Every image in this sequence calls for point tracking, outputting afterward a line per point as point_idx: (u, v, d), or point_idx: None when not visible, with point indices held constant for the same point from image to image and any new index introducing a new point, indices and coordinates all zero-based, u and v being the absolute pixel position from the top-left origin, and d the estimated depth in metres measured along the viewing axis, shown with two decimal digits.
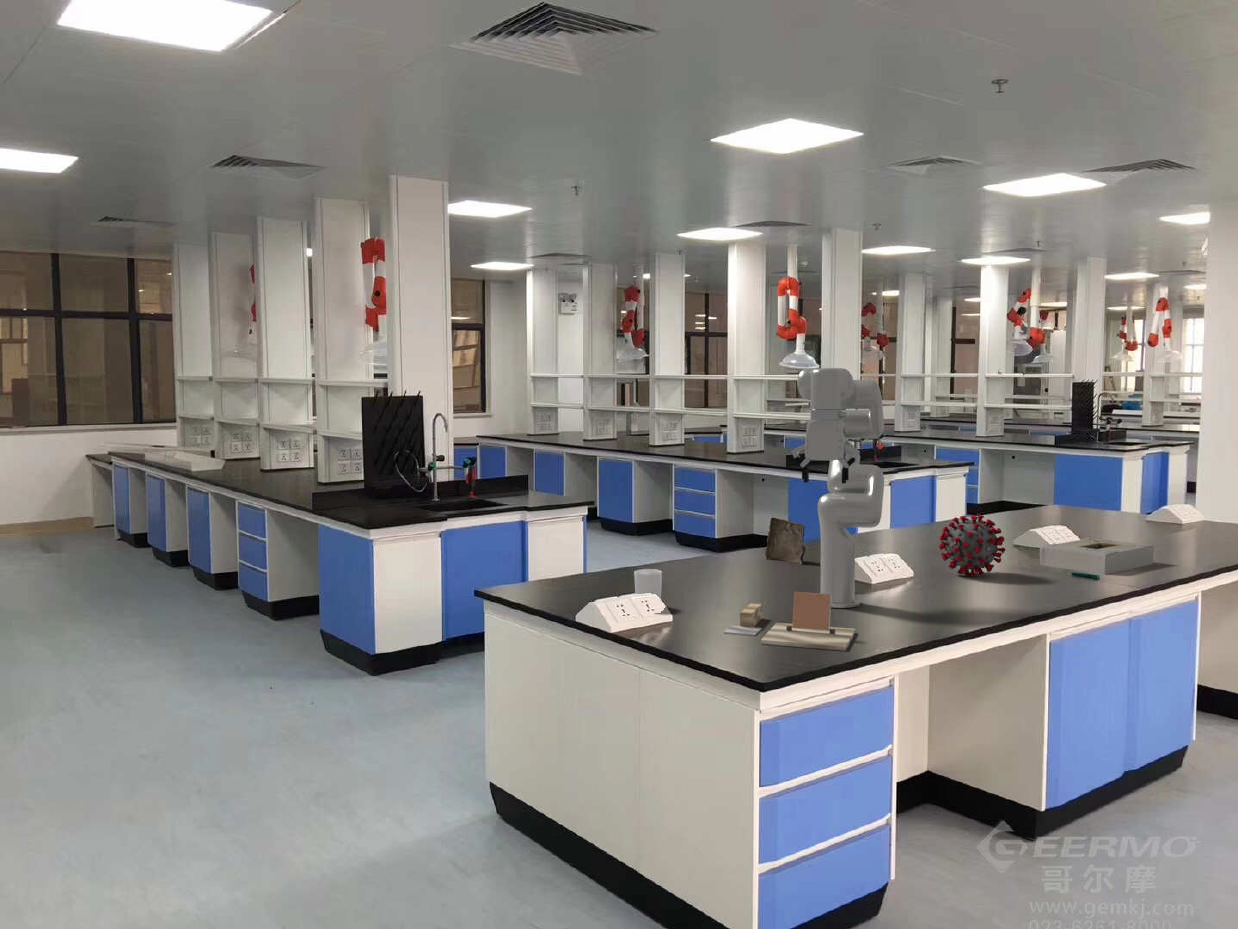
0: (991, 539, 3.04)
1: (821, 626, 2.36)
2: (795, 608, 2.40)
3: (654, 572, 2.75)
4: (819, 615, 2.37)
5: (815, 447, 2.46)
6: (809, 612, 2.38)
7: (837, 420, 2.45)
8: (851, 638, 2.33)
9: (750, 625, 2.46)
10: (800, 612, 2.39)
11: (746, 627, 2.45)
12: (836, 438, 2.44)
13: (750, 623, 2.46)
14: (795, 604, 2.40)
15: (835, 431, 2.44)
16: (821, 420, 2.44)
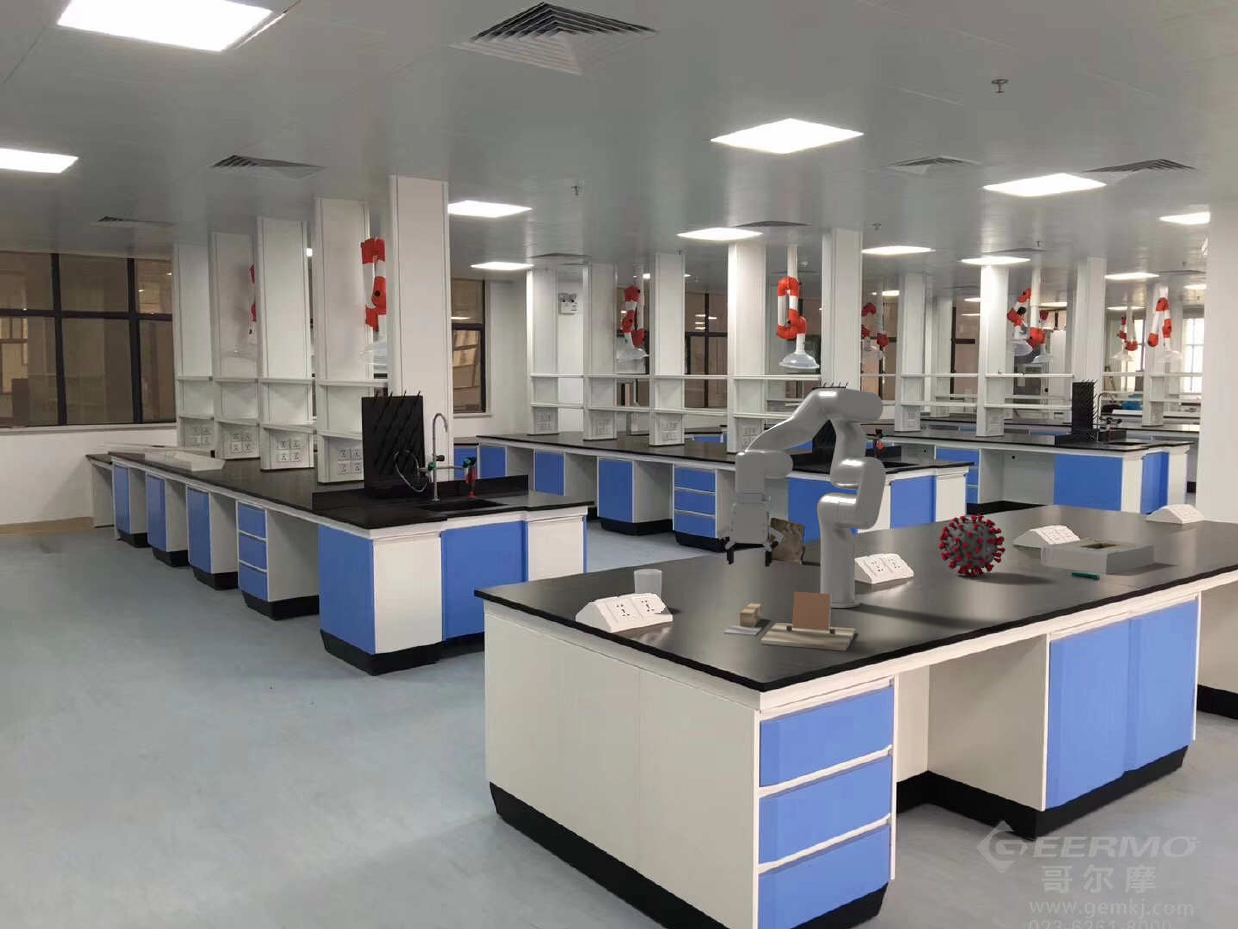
0: (991, 539, 3.04)
1: (821, 626, 2.36)
2: (795, 608, 2.40)
3: (654, 572, 2.75)
4: (819, 615, 2.37)
5: (739, 530, 2.47)
6: (809, 612, 2.38)
7: (760, 504, 2.45)
8: (851, 638, 2.33)
9: (750, 625, 2.46)
10: (800, 612, 2.39)
11: (746, 627, 2.45)
12: (760, 522, 2.45)
13: (750, 623, 2.46)
14: (795, 604, 2.40)
15: (759, 515, 2.45)
16: (744, 504, 2.45)
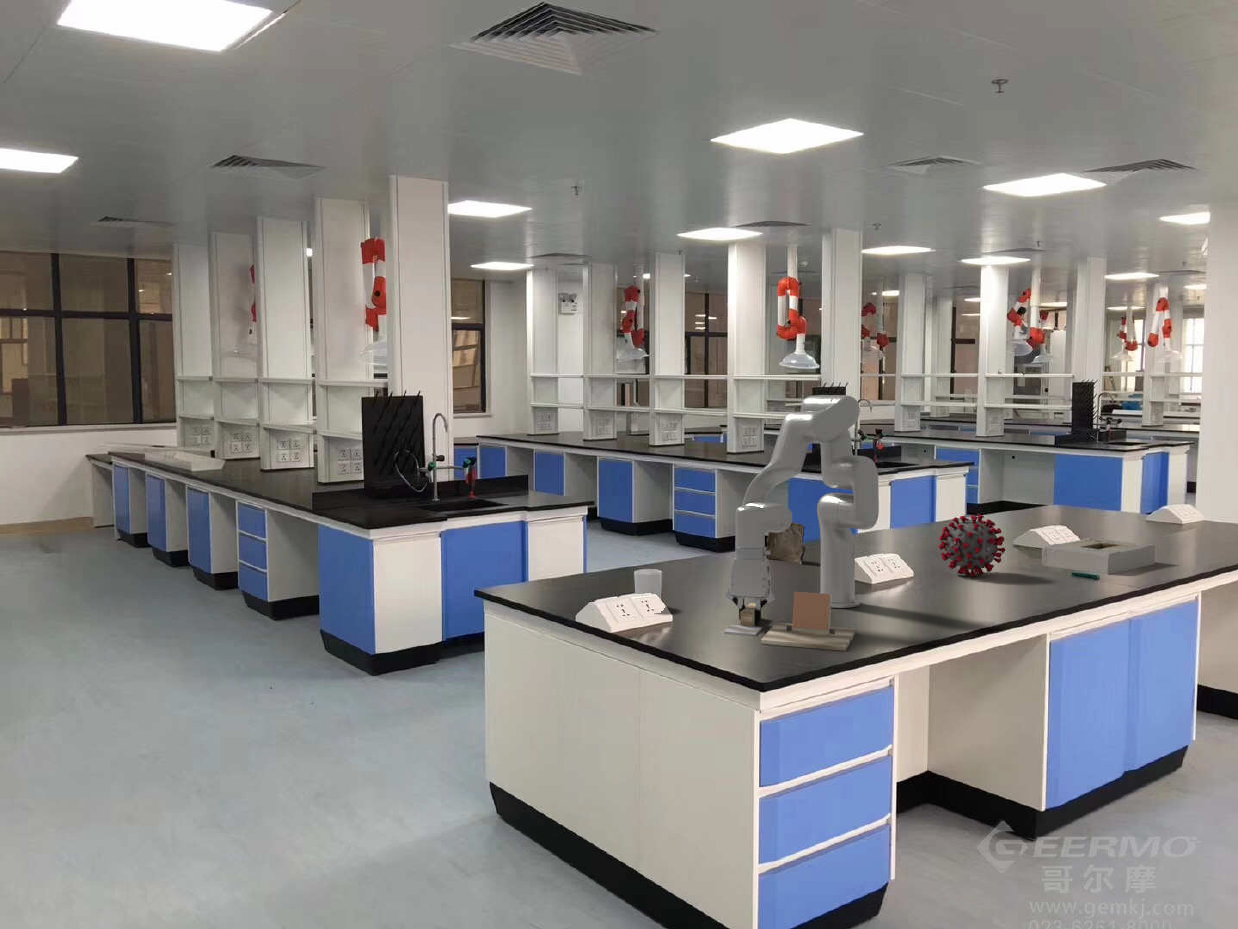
0: (991, 539, 3.04)
1: (821, 626, 2.36)
2: (795, 608, 2.40)
3: (654, 572, 2.75)
4: (819, 615, 2.37)
5: (739, 584, 2.48)
6: (809, 612, 2.38)
7: (761, 559, 2.47)
8: (851, 638, 2.33)
9: (750, 624, 2.46)
10: (800, 612, 2.39)
11: (746, 626, 2.46)
12: (760, 577, 2.46)
13: (750, 622, 2.46)
14: (795, 604, 2.40)
15: (759, 569, 2.46)
16: (745, 559, 2.46)
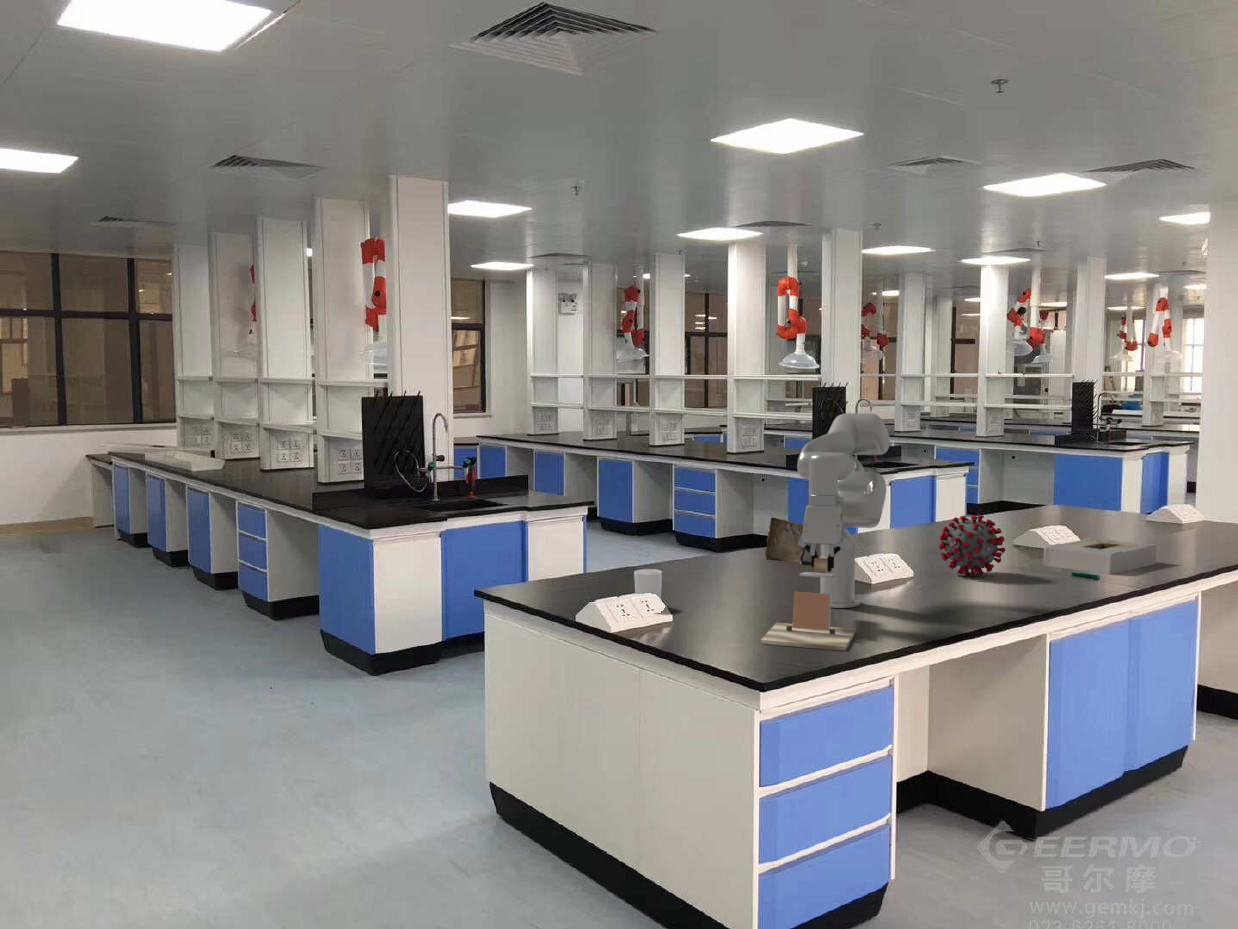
0: (991, 539, 3.04)
1: (821, 626, 2.36)
2: (795, 608, 2.40)
3: (654, 572, 2.75)
4: (819, 615, 2.37)
5: (813, 531, 2.52)
6: (809, 612, 2.38)
7: (835, 506, 2.50)
8: (851, 638, 2.33)
9: (824, 571, 2.49)
10: (800, 612, 2.39)
11: (820, 573, 2.48)
12: (834, 523, 2.50)
13: (824, 569, 2.49)
14: (795, 604, 2.40)
15: (833, 516, 2.50)
16: (819, 506, 2.50)
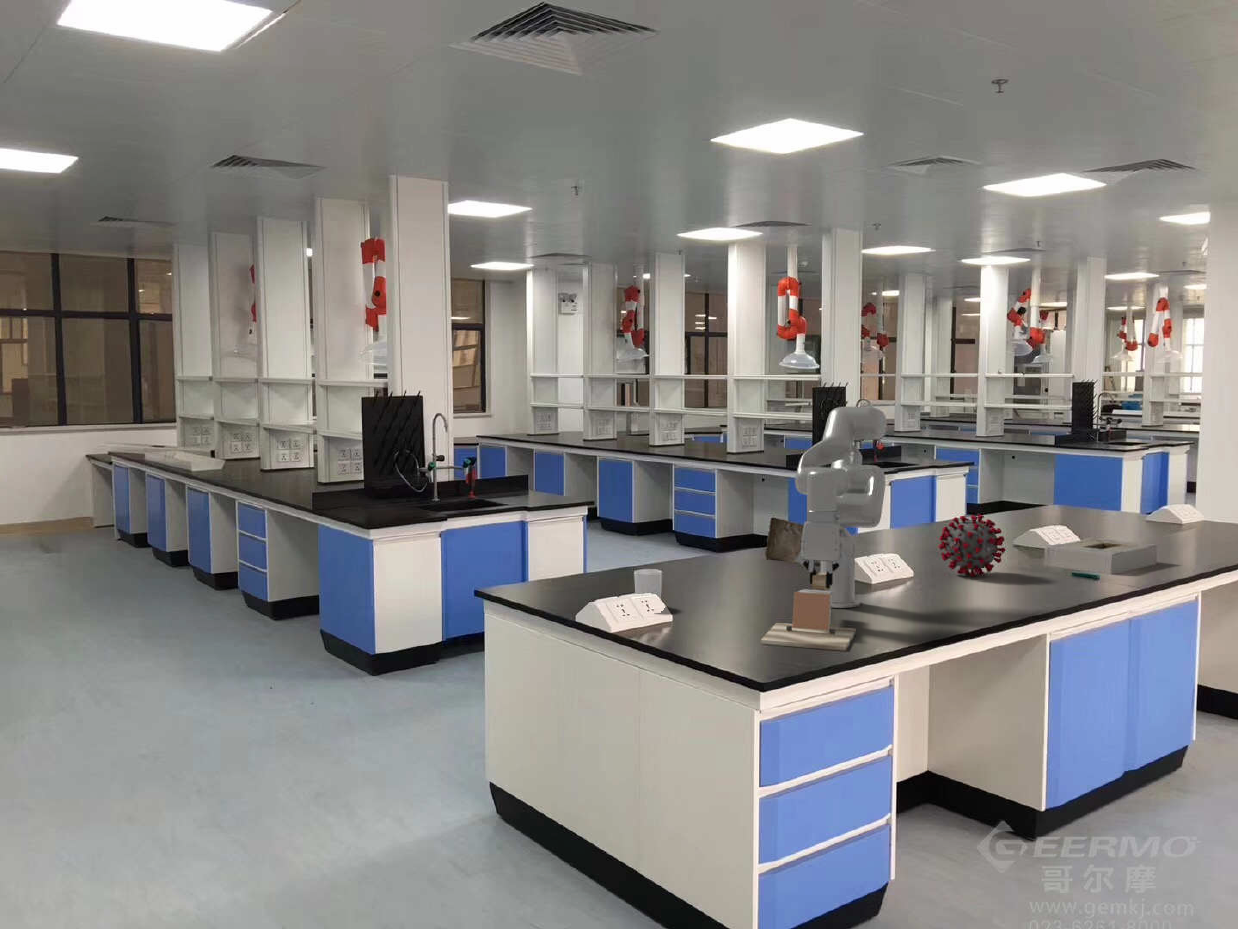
0: (991, 539, 3.04)
1: (821, 626, 2.36)
2: (795, 608, 2.40)
3: (654, 572, 2.75)
4: (819, 615, 2.37)
5: (811, 548, 2.50)
6: (809, 612, 2.38)
7: (833, 522, 2.48)
8: (851, 638, 2.33)
9: (822, 588, 2.47)
10: (800, 612, 2.39)
11: (818, 590, 2.46)
12: (832, 540, 2.48)
13: (822, 586, 2.47)
14: (795, 604, 2.40)
15: (831, 533, 2.48)
16: (817, 522, 2.47)
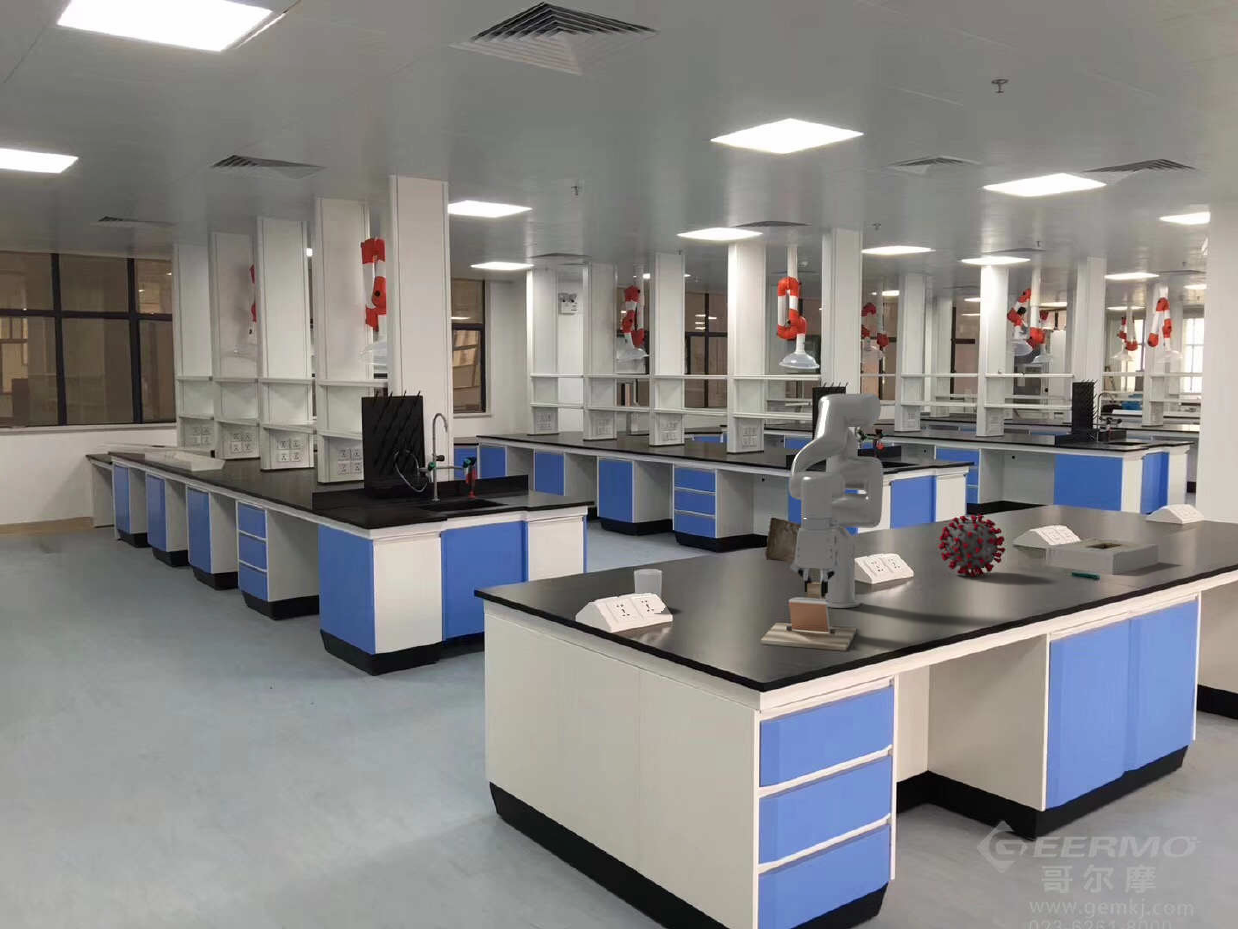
0: (991, 539, 3.04)
1: (821, 629, 2.36)
2: (792, 615, 2.36)
3: (654, 572, 2.75)
4: (817, 621, 2.34)
5: (806, 556, 2.42)
6: (807, 618, 2.35)
7: (828, 529, 2.40)
8: (851, 638, 2.33)
9: (817, 596, 2.40)
10: (798, 618, 2.36)
11: (813, 598, 2.39)
12: (828, 548, 2.40)
13: (817, 594, 2.40)
14: (791, 612, 2.35)
15: (826, 540, 2.40)
16: (812, 529, 2.40)
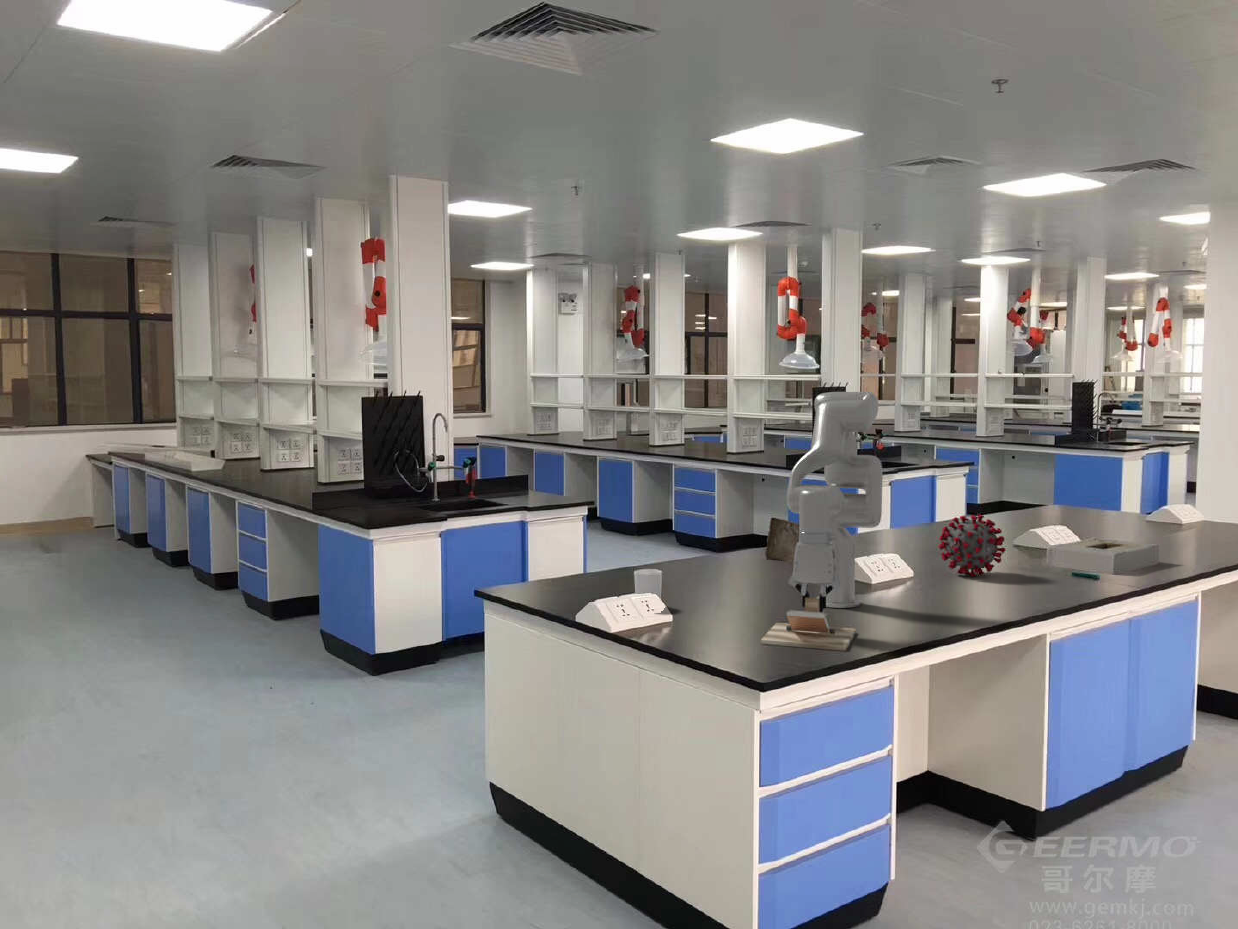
0: (991, 539, 3.04)
1: (820, 631, 2.35)
2: (791, 623, 2.35)
3: (654, 572, 2.75)
4: (816, 627, 2.34)
5: (804, 570, 2.40)
6: (806, 625, 2.34)
7: (826, 543, 2.38)
8: (851, 638, 2.33)
9: (815, 610, 2.37)
10: (797, 624, 2.35)
11: (811, 612, 2.36)
12: (826, 562, 2.38)
13: (815, 608, 2.37)
14: (790, 621, 2.34)
15: (825, 555, 2.38)
16: (810, 544, 2.37)
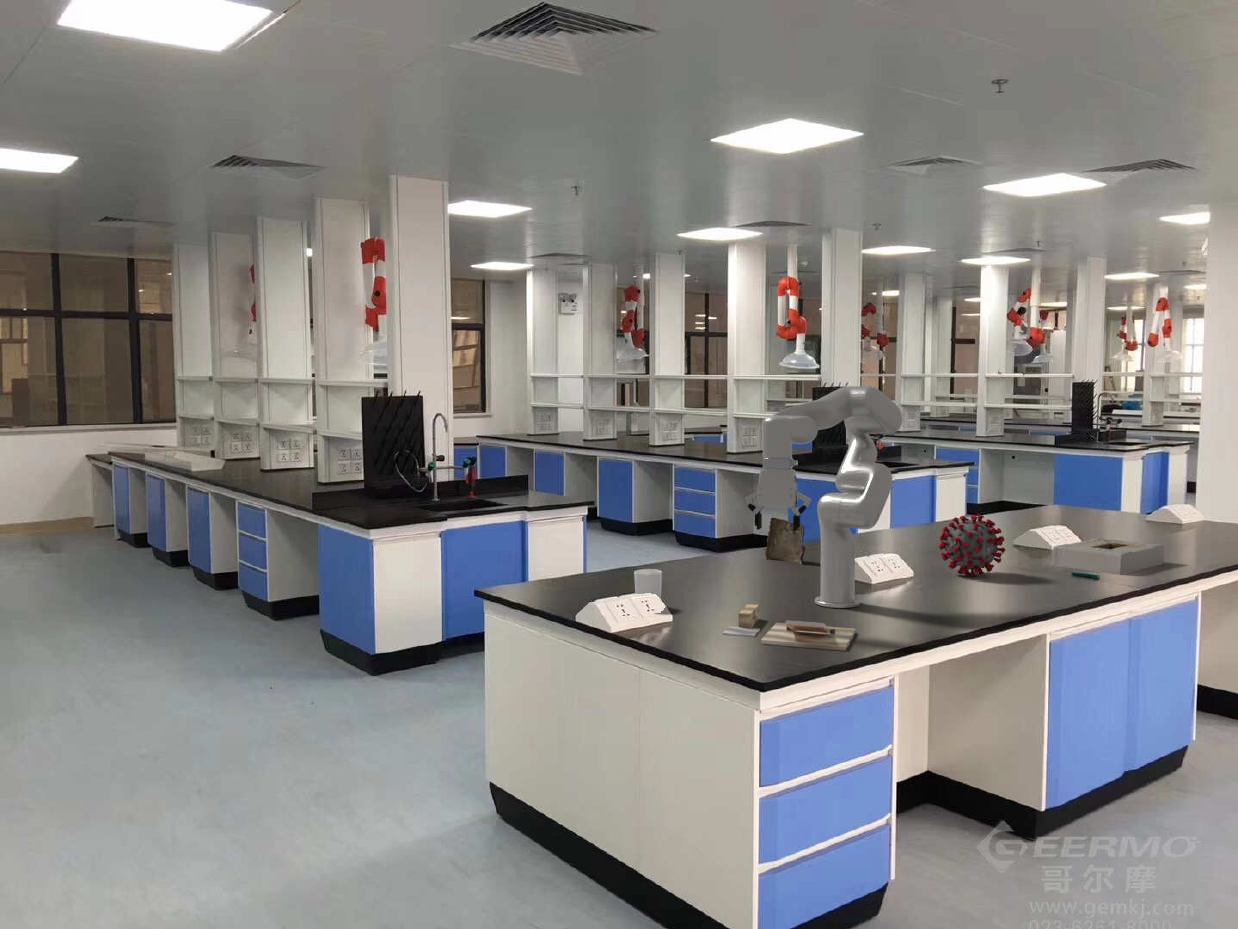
0: (991, 539, 3.04)
1: (820, 632, 2.35)
2: (791, 628, 2.34)
3: (654, 572, 2.75)
4: (816, 630, 2.33)
5: (767, 495, 2.50)
6: (805, 629, 2.34)
7: (788, 469, 2.48)
8: (851, 638, 2.33)
9: (748, 626, 2.45)
10: (796, 628, 2.35)
11: (745, 628, 2.44)
12: (788, 486, 2.48)
13: (748, 624, 2.45)
14: (789, 627, 2.33)
15: (787, 479, 2.48)
16: (772, 469, 2.47)
